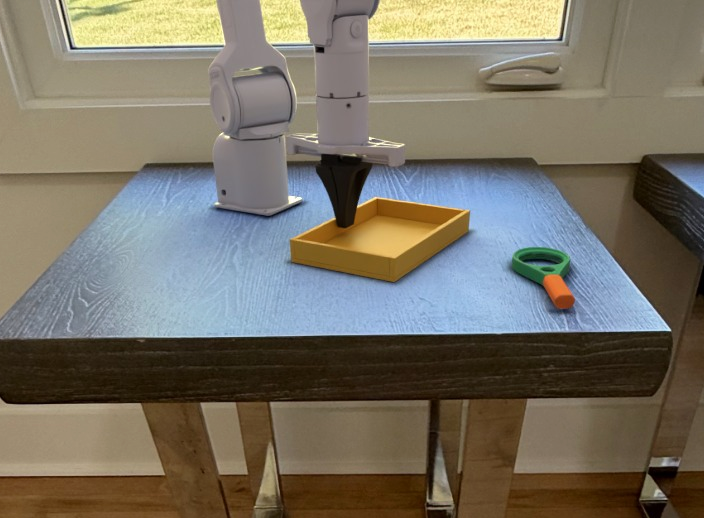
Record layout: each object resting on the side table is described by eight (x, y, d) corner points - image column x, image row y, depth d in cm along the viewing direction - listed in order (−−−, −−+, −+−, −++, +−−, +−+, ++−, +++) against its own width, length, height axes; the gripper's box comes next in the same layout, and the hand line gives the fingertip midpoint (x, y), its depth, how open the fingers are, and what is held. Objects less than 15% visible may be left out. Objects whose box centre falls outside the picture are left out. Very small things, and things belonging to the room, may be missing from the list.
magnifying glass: (507, 258, 79) (508, 242, 78) (561, 257, 79) (564, 241, 78) (531, 312, 67) (533, 295, 66) (595, 312, 67) (598, 294, 66)
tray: (291, 262, 79) (289, 239, 78) (375, 216, 92) (375, 196, 90) (394, 282, 74) (394, 258, 72) (468, 231, 86) (470, 210, 85)
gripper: (265, 95, 76) (276, 226, 84) (383, 104, 70) (382, 244, 78) (302, 86, 81) (309, 211, 89) (415, 94, 75) (411, 226, 83)
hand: (345, 225), depth 84 cm, fingers closed
